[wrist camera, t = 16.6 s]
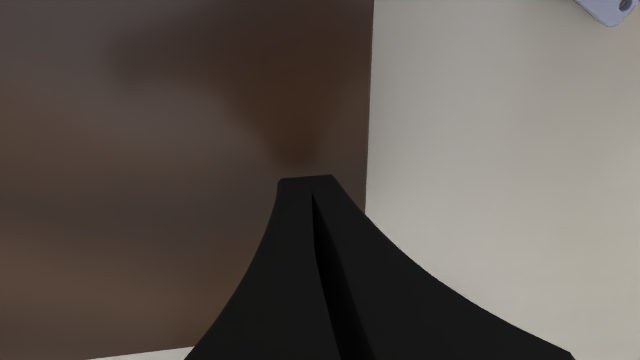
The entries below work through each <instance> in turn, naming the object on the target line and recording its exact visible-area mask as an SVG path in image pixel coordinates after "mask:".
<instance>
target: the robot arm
mask: <svg viewBox="0 0 640 360" xmlns="http://www.w3.org/2000/svg"><path fill="white" fill-rule="evenodd" d="M574 1H576V2H577V3H578V4H579V5H580V6H581V7H582V8H584V9H585V10H586V11H587V12H588V13H589V14H590V15H592V16H593V17H594V18H595V19H596V20H597V21H598V22H600V23H601V24H603V25H605V26H607V27H614V26H616V25H618V24H619V23H620V22H621V21H622V20H623V19H624V18H625V17H626V16H627V15H628V14H629V13H630V12H631V11H632V9H633V8H634V7H635V6H636V5H637V4H638V3H639V2H640V0H625V3H624V4H623V6H621V7H620V8H619V4H620V3H621V1H622V0H574ZM184 360H575V359H574V357H573V356H572V355H571V353H570V352H568V351H566V350H564V349H562V348H560V347H558V346H555V345H553V344H551V343H549V342H547V341H545V340H543V339H541V338H539V337H536V336H534V335H532V334H530V333H528V332H526V331H524V330H522V329H520V328H517V327H516V326H514V325H512V324H510V323H508V322H506V321H504V320H503V319H501V318H499V317H497V316H495V315H493V314H492V313H490V312H488V311H486V310H484V309H483V308H481V307H479V306H478V305H476V304H474V303H473V302H471V301H469V300H468V299H466V298H465V297H463V296H462V295H460V294H459V293H457V292H456V291H454V290H452V289H451V288H449V287H448V286H446V285H445V284H443V283H442V282H440V281H439V280H438V279H436V278H435V277H433V276H432V275H431V274H429V273H428V272H427V271H425V270H424V269H423V268H422V267H420V266H419V265H418V264H417V263H415V262H414V261H413V260H412V259H410V258H409V257H408V256H407V255H406V254H405V253H404V252H402V251H401V250H400V249H399V248H398V247H397V246H396V245H395V244H394V243H393V242H392V241H391V240H389V239H388V238H387V237H386V236H385V235H384V234H383V233H382V232H381V231H380V230H379V229H378V228H377V227H376V226H375V224H374V223H373V222H372V221H371V220H370V219H369V218H368V217H367V216H366V215H365V214H364V213H363V211H362V210H361V209H360V208H359V207H358V206H357V205H356V203H355V202H354V201H353V200H352V198H351V197H350V196H349V195H348V193H347V192H346V191H345V190H344V188H343V187H342V186H341V184H340V183H339V182H338V180H337V179H336V178H335V177H334V176H333V175H332V174H328V175H316V176H303V177H291V178H282V179H281V180H279V181H278V182H277V194H276V199H275V203H274V207H273V210H272V214H271V216H270V219H269V222H268V225H267V227H266V230H265V233H264V235H263V238H262V240H261V242H260V244H259V246H258V249H257V251H256V253H255V255H254V257H253V259H252V261H251V263H250V265H249V267H248V269H247V271H246V273H245V275H244V276H243V278H242V280H241V282H240V283H239V285H238V287H237V288H236V290H235V292H234V293H233V295H232V296H231V298H230V299H229V301H228V302H227V304H226V305H225V307H224V308H223V310H222V311H221V313H220V314H219V316H218V317H217V318H216V320H215V321H214V323H213V324H212V325H211V327H210V328H209V329H208V330H207V332H206V333H205V334H204V335H203V337H202V338H201V339H200V340H199V342H198V343H197V344H196V345H195V347H194V348H193V349H192V350H191V352H190V353H189V354H188V355H187V357H186V358H185V359H184Z"/></svg>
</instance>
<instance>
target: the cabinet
mask: <svg viewBox="0 0 640 360" xmlns="http://www.w3.org/2000/svg"><path fill="white" fill-rule="evenodd" d="M373 14H374V0H0V360H88V359H96V358H104V357H113V356H121V355H129V354H137V353H145V352H153V351H161V350H169V349H177V348H185V347H193V346H195V345H196V344H197V343H198V342H199V340H200V339H201V338H202V337H203V335H204V334H205V333H206V332H207V330H208V329H209V328H210V327H211V325H212V324H213V323H214V321H215V320H216V318H217V317H218V316H219V314H220V313H221V311H222V310H223V308H224V307H225V305H226V304H227V302H228V301H229V299H230V298H231V296H232V295H233V293H234V292H235V290H236V288H237V287H238V285H239V283H240V282H241V280H242V278H243V276H244V275H245V273H246V271H247V269H248V267H249V265H250V263H251V261H252V259H253V257H254V255H255V253H256V251H257V249H258V246H259V244H260V242H261V240H262V238H263V235H264V233H265V230H266V227H267V225H268V222H269V219H270V216H271V214H272V210H273V207H274V203H275V199H276V194H277V182H278V181H279V180H281V179H282V178H291V177H303V176H316V175H328V174H332V175H333V176H334V177H335V178H336V179H337V180H338V182H339V183H340V184H341V186H342V187H343V188H344V190H345V191H346V192H347V193H348V195H349V196H350V197H351V198H352V200H353V201H354V202H355V203H356V205H357V206H358V207H359V208H360V209H361V210H362V211H363V213H364V214H365V204H366V180H367V157H368V133H369V109H370V85H371V61H372V38H373Z"/></svg>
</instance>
